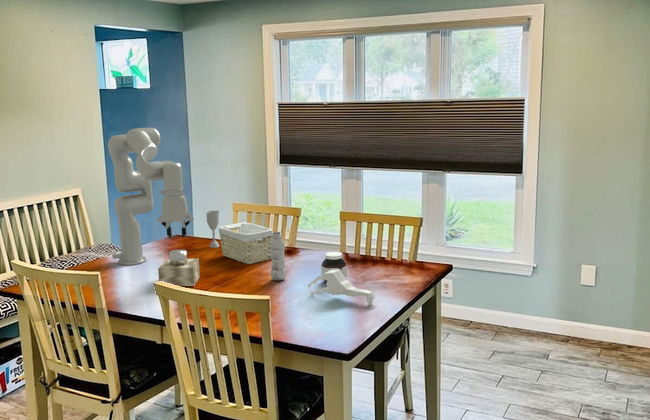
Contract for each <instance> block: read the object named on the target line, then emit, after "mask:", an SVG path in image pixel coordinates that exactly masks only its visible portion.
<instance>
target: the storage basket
mask: <svg viewBox="0 0 650 420" xmlns="http://www.w3.org/2000/svg"><path fill="white" fill-rule="evenodd" d="M234 230H235V231H234ZM236 230H238V231H239V232H238V231H236ZM218 233H219V238H220V244H221V245H220V246H221V250H222V255H223V256H224V257H227V258H230V259H232V260H234V261H235V260H236V261H237V262H240V263H244V264H247V265H252V264H255V263H260V262H263V261H268V260H270V259H272V258H271V252H270V243H271V241H272V240H273V238H272V234H273V233H274V232H273V229H272V228H269V227H265V226H262V225H258V224H255V223H250V222H245V221H243V222H238V223H233V224H227V225H223V226H219V228H218Z"/></svg>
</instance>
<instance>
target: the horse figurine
mask: <svg viewBox="0 0 650 420" xmlns="http://www.w3.org/2000/svg"><path fill="white" fill-rule="evenodd" d="M320 280H321V281H324V280H328V281H327V283H326V282H325V283H326V284H325V285H326V287H323V288H319V289H317V290H316V291H313V292H310V295H311V297H313V296H314V294H318V293H329V294H330V295H332V296H340V295H343V296H349V297H357V296H359V297H360V296H361V297H366V302H367V304H368V306H372V305H373V303H374V299H375V296H376V295H375V294H374V292H373V291H370V290H368V289H361V288H359V287H354V285H353V284H352V283H351V281H350V280H348V279H347V277H346V278H345V276H344V275H343V273H342V272H341V270H330V271H328V272H326V273H324V274H323V275H319V276H317V277H316V278H315V279H314V280H312V281H311V282H310V283H309V284H307V287H308V289H310V288H311V286H312V285H314V286H316V284H317V283H318V282H319V281H320Z"/></svg>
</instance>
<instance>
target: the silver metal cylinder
mask: <svg viewBox="0 0 650 420" xmlns="http://www.w3.org/2000/svg"><path fill="white" fill-rule="evenodd" d="M187 253H188V251H187V250H186V249H173V250H171V251H169V253H168V255H169V259H170V265H172V266H181V265H185V264H187V259H188V254H187Z"/></svg>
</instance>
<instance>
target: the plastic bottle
mask: <svg viewBox="0 0 650 420" xmlns="http://www.w3.org/2000/svg"><path fill="white" fill-rule="evenodd" d="M285 249H286V245H285V242H284V240H283V239H282V232H281V231H275V232H273V234H272V241H271V243H270V251H269V252H271V270H270V276H271V277H270V278H271V280H273V281H283V280H285V279H286V278H287V270H286V265H285Z"/></svg>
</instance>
